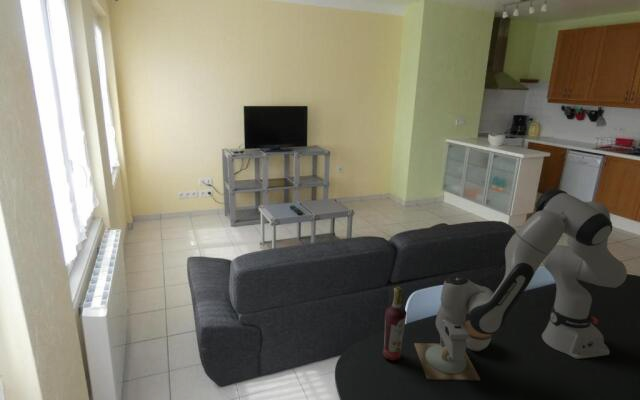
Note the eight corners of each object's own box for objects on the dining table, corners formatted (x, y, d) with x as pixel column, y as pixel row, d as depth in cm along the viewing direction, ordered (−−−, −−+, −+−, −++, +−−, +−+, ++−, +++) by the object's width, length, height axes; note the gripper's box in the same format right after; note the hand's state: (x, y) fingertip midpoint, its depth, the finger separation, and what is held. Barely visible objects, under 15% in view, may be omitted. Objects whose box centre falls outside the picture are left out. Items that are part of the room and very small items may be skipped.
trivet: (461, 345, 146) (461, 344, 146) (480, 380, 129) (480, 379, 129) (414, 344, 146) (414, 343, 146) (427, 379, 129) (427, 378, 128)
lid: (458, 347, 144) (459, 336, 142) (472, 374, 131) (474, 363, 129) (421, 346, 144) (422, 335, 142) (431, 373, 130) (433, 362, 129)
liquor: (390, 366, 134) (397, 296, 126) (377, 354, 140) (383, 286, 132) (406, 358, 138) (413, 290, 130) (392, 347, 144) (398, 281, 136)
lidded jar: (492, 357, 140) (496, 335, 137) (461, 352, 142) (464, 331, 139) (485, 339, 150) (489, 318, 147) (457, 335, 152) (460, 314, 149)
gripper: (433, 302, 142) (429, 334, 146) (451, 338, 123) (446, 373, 127) (450, 303, 142) (446, 334, 146) (471, 338, 123) (465, 373, 127)
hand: (446, 353), depth 136 cm, fingers open, 6 cm apart
